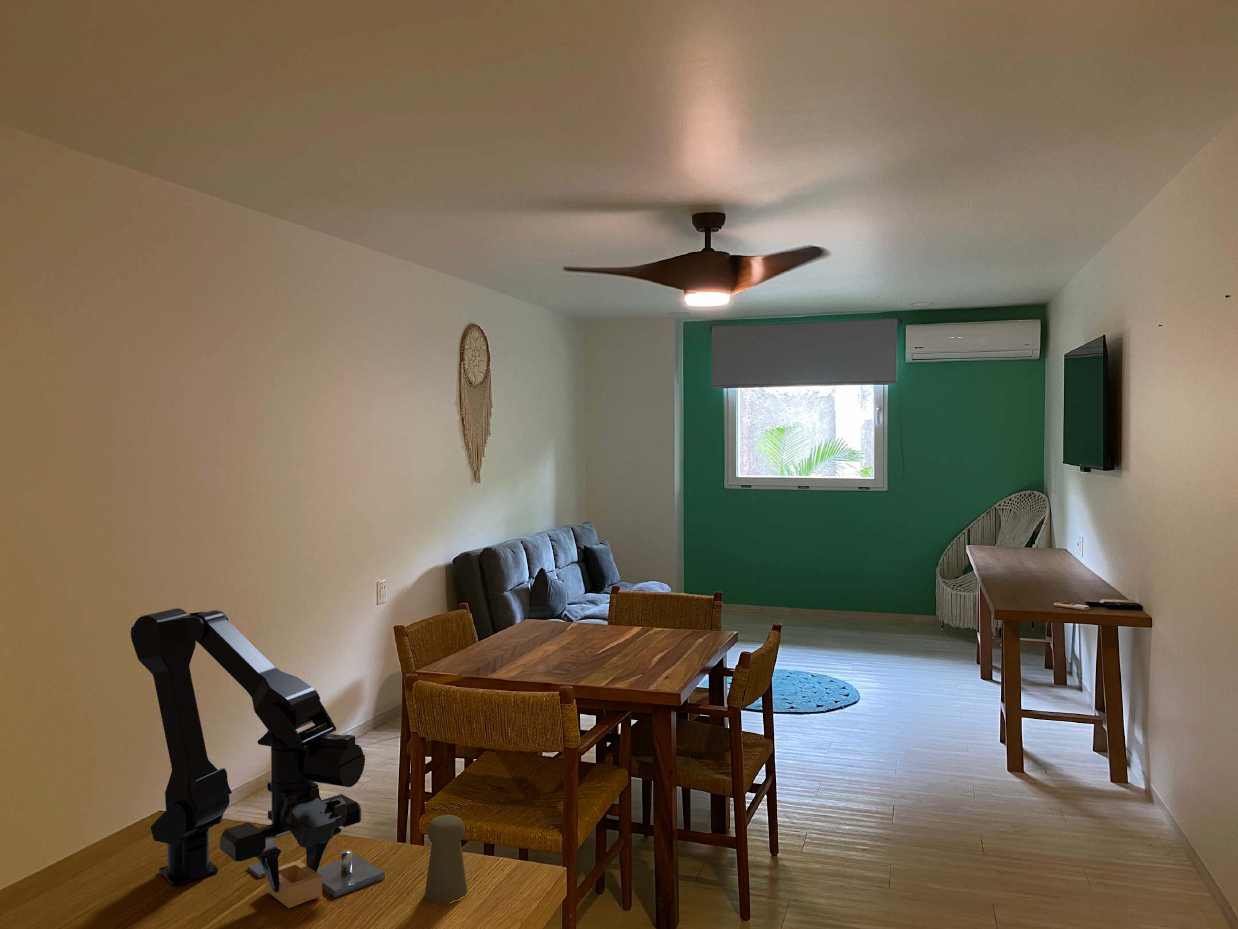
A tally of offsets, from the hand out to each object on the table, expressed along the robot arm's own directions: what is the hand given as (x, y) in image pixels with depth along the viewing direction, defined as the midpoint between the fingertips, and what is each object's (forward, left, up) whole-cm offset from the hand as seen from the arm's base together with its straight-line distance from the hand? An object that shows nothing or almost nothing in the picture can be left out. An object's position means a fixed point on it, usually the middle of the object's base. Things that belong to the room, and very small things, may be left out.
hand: (293, 884), depth 134 cm
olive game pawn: (+15, +16, -2) cm, 22 cm away
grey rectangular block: (-10, 0, -2) cm, 11 cm away
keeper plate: (+1, +8, -2) cm, 8 cm away
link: (0, 0, -1) cm, 1 cm away
